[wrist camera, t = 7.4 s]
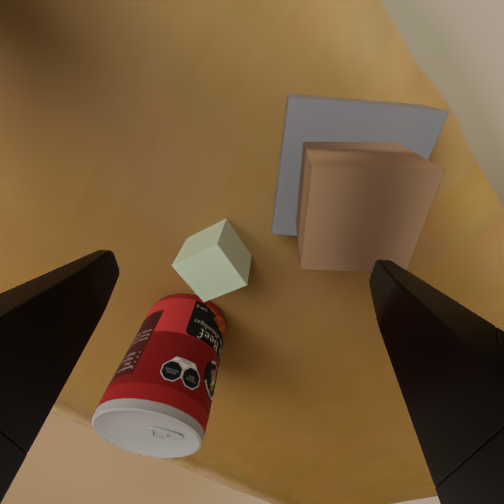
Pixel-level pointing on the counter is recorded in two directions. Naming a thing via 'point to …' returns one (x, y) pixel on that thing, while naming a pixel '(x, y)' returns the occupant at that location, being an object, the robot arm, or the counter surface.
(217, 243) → the sage block
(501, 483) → the robot arm
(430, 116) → the grey square block
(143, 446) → the canned food
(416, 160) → the walnut cube
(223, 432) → the counter surface
